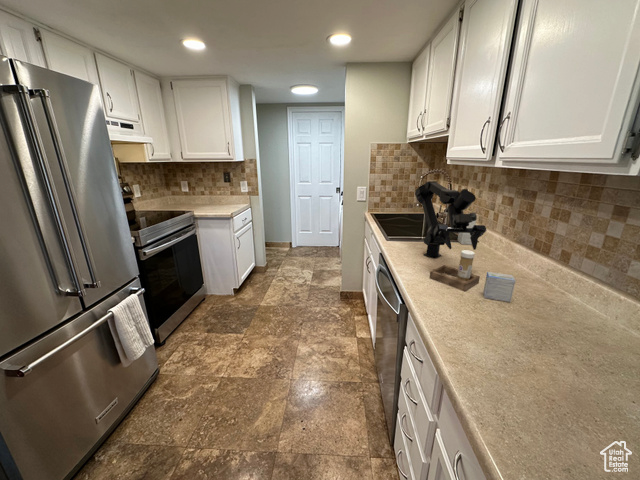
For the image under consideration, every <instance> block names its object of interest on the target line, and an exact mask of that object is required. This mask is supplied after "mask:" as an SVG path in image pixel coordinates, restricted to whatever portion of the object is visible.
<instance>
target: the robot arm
mask: <svg viewBox="0 0 640 480" xmlns="http://www.w3.org/2000/svg"><path fill="white" fill-rule="evenodd" d="M434 195H435V196H438V198H439V202H441V204H442V205H448V206H447V208H446V209H445V213H448V220H449V221H448V224H449V225H450V227H449V226H448V224H441V223H440V224H439V220H438V217H437V215H436V211H435V208H434V205H433V201H432V200H433V197H434ZM414 196H415V197H416V201H417V202H419V204H421V206H422V209H423V213H424V215H425V219H426V223H427V227H428V228H427V232H426V236H425V237H424V238H423V244H425V245H426V247H427V248H426V253H425V252H424V253H423V256H425V257H428V258H433V259H438V258H440V257H442V254H441V253H440V248H441V246H445V245H446V247H447V248H448V249H449V250H451V249H452V243H451V239H450V233H453V234H454V233H456V234H458V233H470V235H471V237H470V239H471V243H472V245H471V246H472V249H473V250H474V251H475V250H476V249H477V245H478V241H479V238H480V237H482V236H483V235H484V234H485V233H486V232H487V227H486V225H484V224H476V225H474V226H473V227H472V228H467V226H469V223H470V222H472V221H475V220H476V221H477V219H478V218H477V217H478V216H477V213H476V212H469V213H464V211H465V210H466V211H467V209H468V208H469V207H470V206H471V205H472V204H473V203H474V202H475V201H476V200H477V198H476V195H475V194H474V193H473V192H471V191H469V190H468V189H467V188H463V189H461V190H460V191H459V190H455V189H448V188H446V187H445V186H443V185H441V184H440V183H438V182H437V181H436V180H434V181H432V180H431V181H426V182H425V183H423V184H422V185H420V186H418V187H417V188H416V189H415V191H414Z"/></svg>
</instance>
